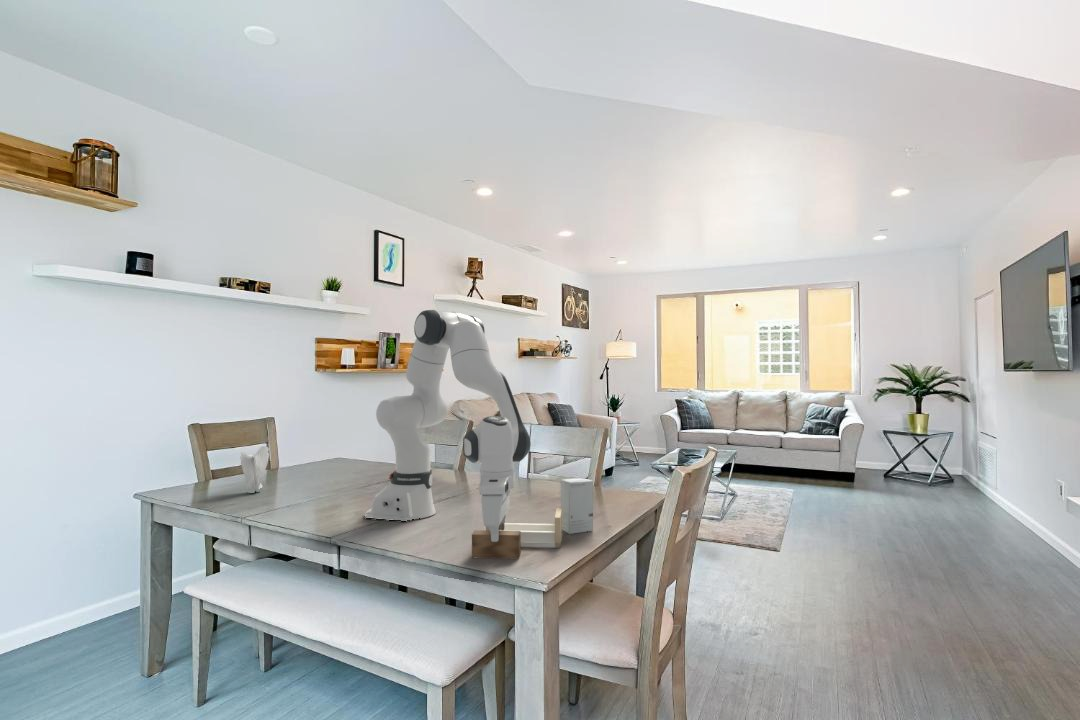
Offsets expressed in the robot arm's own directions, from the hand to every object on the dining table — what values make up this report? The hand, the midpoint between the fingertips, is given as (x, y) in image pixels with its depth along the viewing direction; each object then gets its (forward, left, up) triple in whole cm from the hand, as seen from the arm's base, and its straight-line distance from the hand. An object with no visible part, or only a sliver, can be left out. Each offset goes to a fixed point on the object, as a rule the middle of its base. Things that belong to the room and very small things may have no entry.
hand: (498, 535), depth 140 cm
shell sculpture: (-107, +63, -6) cm, 124 cm away
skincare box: (+19, +23, -6) cm, 31 cm away
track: (+5, +12, -5) cm, 14 cm away
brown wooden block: (-1, 0, -5) cm, 5 cm away
